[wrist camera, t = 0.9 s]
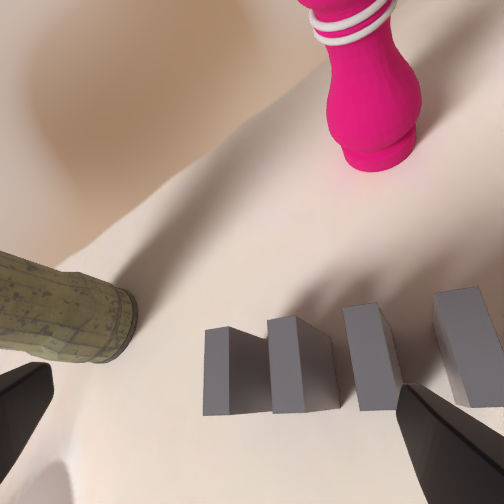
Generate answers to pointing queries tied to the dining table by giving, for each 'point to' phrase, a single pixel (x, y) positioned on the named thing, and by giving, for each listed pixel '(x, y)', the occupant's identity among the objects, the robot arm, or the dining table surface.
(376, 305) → the domino
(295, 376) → the domino
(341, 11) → the pepper mill
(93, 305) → the thermos
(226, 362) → the domino
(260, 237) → the dining table surface
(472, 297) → the domino
